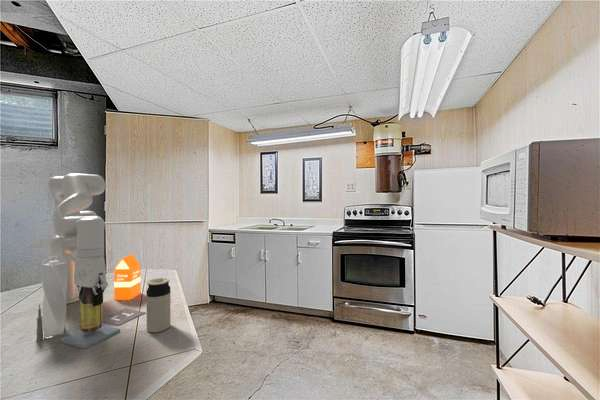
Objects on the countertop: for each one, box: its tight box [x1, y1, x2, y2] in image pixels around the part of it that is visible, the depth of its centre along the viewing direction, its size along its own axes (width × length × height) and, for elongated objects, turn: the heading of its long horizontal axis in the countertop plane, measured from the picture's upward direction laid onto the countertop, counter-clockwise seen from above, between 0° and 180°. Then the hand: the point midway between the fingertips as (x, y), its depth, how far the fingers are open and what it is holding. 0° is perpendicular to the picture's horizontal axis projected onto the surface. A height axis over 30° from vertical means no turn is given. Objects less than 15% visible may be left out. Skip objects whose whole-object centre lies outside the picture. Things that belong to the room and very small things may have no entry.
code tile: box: [102, 308, 147, 326], centre depth 111 cm, size 12×12×1 cm
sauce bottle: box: [78, 284, 103, 332], centre depth 95 cm, size 6×6×20 cm
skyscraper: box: [35, 255, 68, 343], centre depth 97 cm, size 8×8×28 cm
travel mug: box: [146, 277, 171, 334], centre depth 101 cm, size 8×8×18 cm
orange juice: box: [113, 253, 142, 301], centre depth 133 cm, size 8×9×20 cm
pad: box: [60, 324, 121, 350], centre depth 95 cm, size 12×12×1 cm
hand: (91, 303), depth 95 cm, fingers closed on sauce bottle, 6 cm apart
